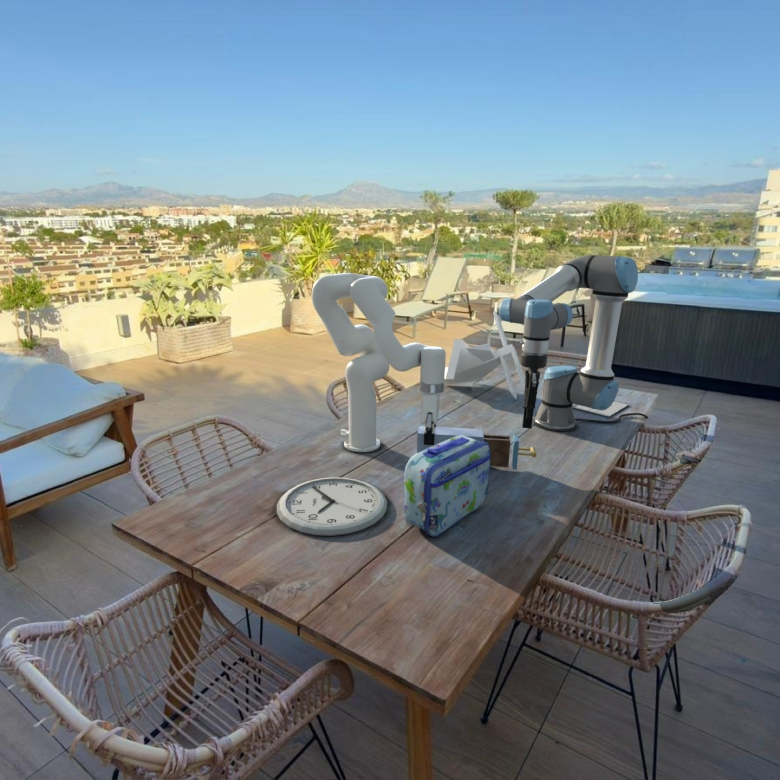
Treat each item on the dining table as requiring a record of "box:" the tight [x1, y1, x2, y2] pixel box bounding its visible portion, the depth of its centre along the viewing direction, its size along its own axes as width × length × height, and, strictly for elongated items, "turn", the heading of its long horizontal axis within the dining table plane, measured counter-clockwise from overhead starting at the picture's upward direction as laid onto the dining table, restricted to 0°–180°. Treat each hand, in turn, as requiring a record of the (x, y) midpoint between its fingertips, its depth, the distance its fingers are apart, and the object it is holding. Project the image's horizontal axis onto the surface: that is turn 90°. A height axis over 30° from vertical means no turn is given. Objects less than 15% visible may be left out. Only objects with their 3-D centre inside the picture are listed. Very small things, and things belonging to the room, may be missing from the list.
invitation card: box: [573, 401, 629, 418], centre depth 226 cm, size 21×1×15 cm
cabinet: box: [416, 425, 485, 454], centre depth 167 cm, size 20×7×11 cm, turn 82°
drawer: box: [484, 433, 538, 471], centre depth 165 cm, size 25×5×10 cm, turn 82°
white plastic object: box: [444, 310, 525, 400], centre depth 245 cm, size 37×45×31 cm
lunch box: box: [403, 435, 491, 538], centre depth 134 cm, size 26×11×21 cm, turn 134°
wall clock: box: [276, 476, 388, 537], centre depth 142 cm, size 30×2×30 cm
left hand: (429, 439), depth 167 cm, fingers closed on cabinet, 6 cm apart
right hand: (526, 427), depth 161 cm, fingers closed
